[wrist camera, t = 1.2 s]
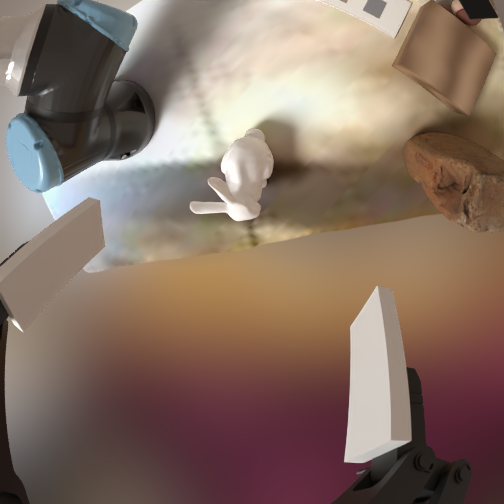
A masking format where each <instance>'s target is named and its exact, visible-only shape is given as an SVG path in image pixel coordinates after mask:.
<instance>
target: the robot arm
mask: <svg viewBox="0 0 504 504" xmlns="http://www.w3.org/2000/svg"><path fill="white" fill-rule="evenodd" d="M57 3H58V4H56V5H55V4H42V5H41V6H39V7H38V8H37V9H35V10H34V11H33V12H31V13H30V14H28V15H25V16H10V17H0V86H3V85H5V86H7V87H9V89H10V90H11V91H12V93H13V94H14V96H17V97H18V96H27V101H26V106H25V111H24V113H20V114H18V115H17V116H16V117H14V118H13V119H12V120H11V122H10V123H9V125H8V128H7V133H6V145H7V152H8V157H9V160H10V163H11V165H12V168H13V170H14V172H15V174H16V175H17V177H18V179H19V180H20V181H21V182H22V184H23V185H24V186H26V187H27V188H28V189H29V190H31V191H33V192H37V193H42V192H45V191H47V190H49V189H51V188H53V187H55V186H59V185H61V184H62V183H63V182H65V181H67V180H68V179H70V178H72V177H73V176H75V175H77V174H78V173H80V172H82V171H84V170H85V169H87V168H89V167H91V166H93V165H95V164H96V163H98V162H100V161H109V160H124V159H127V158H130V157H132V156H134V155H136V154H137V153H139V152H140V151H142V150H143V149H144V148H145V146H146V145H147V144H148V142H149V140H150V138H151V136H152V133H153V130H154V124H155V113H154V107H153V104H152V101H151V99H150V97H149V95H148V94H147V92H146V91H145V90H144V89H143V88H142V87H141V86H140V85H138V84H136V83H134V82H131V81H116V82H113V81H114V79H115V77H116V74H117V72H118V70H119V67H120V65H121V63H122V61H123V59H124V56H125V54H126V52H128V51H129V45H130V42H131V40H132V38H133V36H134V33H135V31H136V29H137V20H136V18H135V17H134V16H133V15H131V14H129V13H127V12H124V11H122V10H119V9H116V8H114V7H111V6H108V5H105V4H102V3H98V2H95V1H92V0H58V1H57ZM104 247H105V242H104V235H103V227H102V218H101V208H100V200H96V199H93V198H90V197H89V198H87V199H86V200H84V201H83V202H81V203H80V204H79V205H77V206H76V207H74V208H73V209H71V210H70V211H68V212H67V213H66V214H64V215H63V216H62V217H60V218H59V219H57V220H56V221H55V222H53V223H52V224H51V225H49V226H48V227H47V228H46V229H44V230H43V231H42V232H40V233H39V234H38V235H37V236H35V237H34V238H33V239H32V240H30V241H28V242H26V243H25V244H23V245H21V246H20V247H19V248H18V249H17V250H15V252H13V253H12V254H11V255H10V256H9V258H6V259H5V260H4V261H3V262H2V263H1V264H0V504H29V501H28V497H27V494H26V491H25V488H24V485H23V483H22V481H21V480H20V479H19V477H18V476H17V475H16V473H15V472H14V469H13V465H12V460H11V454H10V448H9V442H8V434H7V424H6V412H5V390H4V389H5V380H4V379H5V353H6V341H7V332H8V321H7V317H8V316H9V317H10V318H11V320H12V322H13V323H14V325H15V326H16V327H17V328H19V329H20V330H21V331H22V332H25V330H26V329H27V328H28V327H29V326H30V325H31V323H32V322H33V321H34V320H35V319H36V318H37V316H38V315H39V314H40V313H41V312H42V311H43V309H44V308H45V307H46V306H47V305H48V304H49V303H50V302H51V301H52V299H53V298H54V297H55V296H56V295H57V294H58V293H59V292H60V291H61V289H63V288H64V286H65V285H66V284H67V283H68V282H69V281H70V280H71V279H72V278H73V277H74V276H75V275H76V274H77V273H78V272H79V271H80V270H81V269H82V268H83V267H84V266H85V265H86V264H87V263H88V262H89V261H90V260H91V259H92V258H93V257H94V256H95V255H96V254H97V253H99V252H100V251H101V250H102V249H103V248H104ZM350 332H351V370H350V372H351V374H350V399H349V400H350V401H349V416H348V430H347V441H346V451H345V459H344V462H353V463H364V462H366V461H369V460H371V459H372V465H371V466H370V467H367V468H364V469H361V470H359V471H358V472H357V475H358V474H361V473H363V474H362V475H361V476H360V477H359V478H358V479H357V480H356V481H355V482H354V483H353V484H352V485H351V486H350V487H349V488H348V489H347V490H345V492H343V493H342V494H341V495H340V496H339V497H338V498H337V499H336V500H335V501H333V502H332V503H331V504H427V502H428V500H430V501H429V503H428V504H463V501H464V498H465V495H466V492H467V490H468V487H469V484H470V480H471V475H472V470H471V466H470V463H469V462H468V461H467V460H466V459H459V460H457V461H454V462H452V463H450V462H447V461H443V460H441V459H439V458H436V456H435V453H434V451H433V450H432V448H431V447H429V446H427V445H426V439H425V421H424V409H423V405H422V404H423V398H422V395H421V394H422V390H421V382H420V379H419V377H418V374H417V372H416V370H415V369H413V368H408V367H406V362H405V355H404V348H403V342H402V336H401V330H400V325H399V320H398V314H397V310H396V305H395V300H394V295H393V291H392V290H391V289H388V288H385V287H381V286H378V285H377V287H376V288H375V290H374V291H373V293H372V295H371V296H370V298H369V299H368V301H367V303H366V304H365V306H364V307H363V309H362V310H361V312H360V313H359V315H358V316H357V318H356V319H355V321H354V322H353V323H352V325H351V327H350Z"/></svg>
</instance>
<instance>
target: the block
mask: <svg viewBox="0 0 504 504" xmlns="http://www.w3.org/2000/svg"><path fill="white" fill-rule="evenodd" d="M404 160H405V164H406V168H407V170H408V172H409V173H410V175H411V176H412V177H413V178H414V179H415V180H416V181H417V182H418V183H421V184H422V187H423V189H424V191H425V192H426V194H427V196H428V197H429V198H430V200H431V201H432V202H433V204H434V205H435V206H436V207H437V208H438V209H439V211H440V212H441V213H442V214H443V215H444V216H445V217H447V218H448V219H449V220H451V221H453V222H455V223H457V224H459V225H461V226H462V227H464V228H466V229H468V230H471V231H475V232H497V231H498V232H499V231H504V161H503V160H502V159H500V158H499V157H498V156H496V155H494V154H493V153H491V152H490V151H488V150H486V149H484V148H483V147H481V146H479V145H477V144H475V143H472V142H470V141H469V140H467V139H464V138H461V137H458V136H455V135H452V134H448V133H440V132H431V133H425V134H420V135H417V136H414V137H413V138H412V139H410V140H409V141H408V142H407V143H406V145H405V147H404Z"/></svg>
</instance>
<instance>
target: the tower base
mask: <svg viewBox="0 0 504 504" xmlns="http://www.w3.org/2000/svg"><path fill="white" fill-rule="evenodd" d="M495 56H496V53H495V52H494V51H493V50H492V49H491V48H490V47H489V46H488V45H487V44H486V43H485V42H484V41H483V40H482V39H481V38H480V37H479V36H478V35H477V34H475V33H474V32H473V31H472V30H471V29H470V28H469V27H467V26H466V25H465V24H464V23H463V22H461V21H460V20H459V19H458V18H456V17H455V16H454V15H453V14H451V13H450V12H449V11H447V10H446V9H445V8H443V7H442V6H441V5H439V4H438V3H436V2H435V1H433V0H430V1H429V2H427V3H426V4H424V5H423V6H421V7H420V9H419V12H418V14H417V16H416V18H415V20H414V22H413V24H412V26H411V29H410V31H409V33H408V35H407V37H406V39H405V41H404V43H403V45H402V47H401V49H400V51H399V53H398V55H397V57H396V59H395V61H394V63H393V65H392V66H393V67H394V68H396V69H397V70H399V71H400V72H402V73H403V74H405V75H406V76H408V77H409V78H411V79H412V80H414V81H415V82H417V83H418V84H419V85H421V86H422V87H423V88H425V89H426V90H427V91H429V92H430V93H431V94H433V95H434V96H435V97H437V98H438V99H439V100H440V101H442V102H443V103H444V104H445V105H446V106H448V107H449V108H450V109H451V110H452V111H453V112H456V113H459V114H463V115H466V116H469V114H470V112H471V110H472V108H473V106H474V104H475V102H476V100H477V98H478V96H479V94H480V92H481V89H482V87H483V85H484V83H485V80H486V78H487V76H488V73H489V71H490V68H491V66H492V63H493V61H494V58H495Z"/></svg>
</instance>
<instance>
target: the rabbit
mask: <svg viewBox="0 0 504 504" xmlns="http://www.w3.org/2000/svg"><path fill="white" fill-rule="evenodd" d="M273 164H274V160H273V156H272V154H271V151H270V149H269V147H268V145H267V144H266V143H265V136H264V134H263V132H262V131H260V130H258V129H250V130H248V131H246V133H245V137H243V138H240V139H237V140H236V141H234V143H233V144H232V145H231V146H230V147H229V149H228V150H227V151H226V153H225V155H224V157H223V159H222V163H221V170H222V172H223V173H225V176H226V183H225V182H224V181H223V180H221V179H219V178H215V177H211V178H209V179H208V184H209V185H210V186H211V187H212V188H213V189H214V190H215V191H216V192H217V194H218V195H219V196H220V197H221V199H223V200H224V201H225V203H222V202H221V203H219V202H197V201H193V202H191V203H190V209H191V210H192V211H193V212H194V213H196V214H204V213H220V212H226V213H228V214H229V216H230V217H232V218H233V219H234V220H236V221H242V220H249V219H252V218H255V217H257V216H258V215H259V213H260V210H261V206H260V204H258V203H257V201H258V200H259V198H260V197H261V192H262V188H264V187H265V186H266V185H267V180H266V179H268V178H269V177H270V176H271V173H272V171H273V170H272V169H273Z"/></svg>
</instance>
